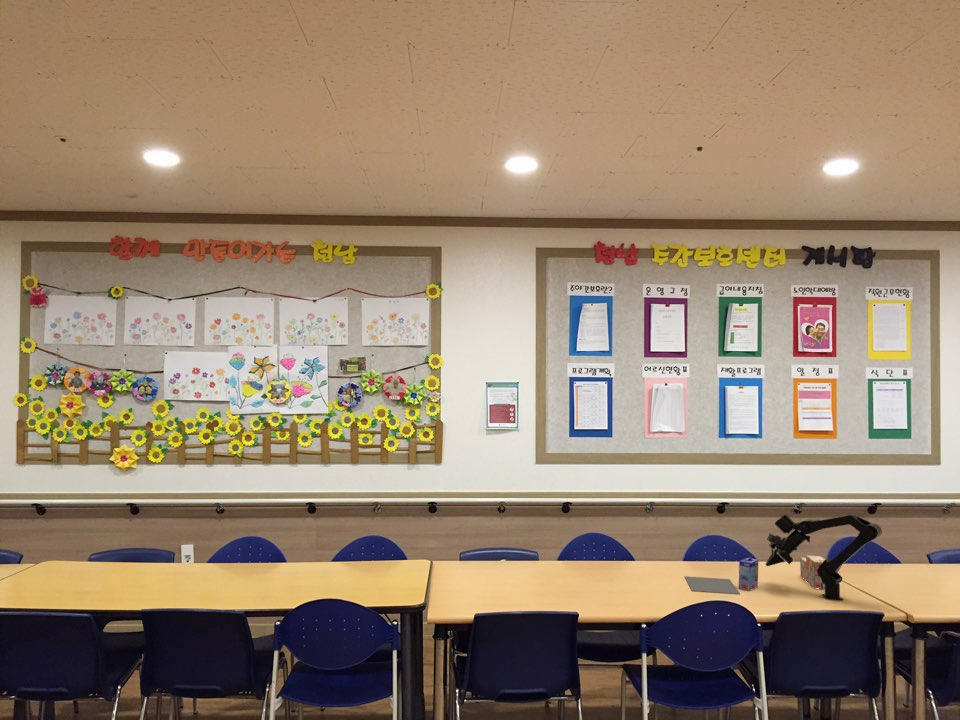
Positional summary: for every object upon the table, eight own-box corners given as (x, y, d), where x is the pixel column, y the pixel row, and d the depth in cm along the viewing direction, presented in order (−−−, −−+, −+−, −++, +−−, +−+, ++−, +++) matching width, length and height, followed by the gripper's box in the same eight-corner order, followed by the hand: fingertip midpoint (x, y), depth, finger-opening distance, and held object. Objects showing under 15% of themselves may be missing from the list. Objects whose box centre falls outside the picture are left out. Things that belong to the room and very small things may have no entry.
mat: (740, 594, 286) (740, 593, 286) (691, 591, 290) (691, 590, 290) (729, 579, 310) (729, 579, 310) (684, 576, 313) (684, 576, 313)
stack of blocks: (800, 577, 318) (799, 550, 318) (814, 577, 317) (813, 551, 317) (814, 589, 297) (814, 561, 297) (829, 590, 295) (829, 562, 296)
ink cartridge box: (751, 591, 291) (750, 557, 292) (738, 588, 295) (738, 555, 296) (759, 586, 299) (758, 554, 300) (746, 584, 302) (746, 552, 303)
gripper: (773, 524, 305) (748, 547, 307) (784, 532, 287) (757, 556, 288) (792, 542, 304) (766, 565, 305) (804, 551, 285) (776, 576, 287)
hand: (766, 565), depth 296 cm, fingers closed
